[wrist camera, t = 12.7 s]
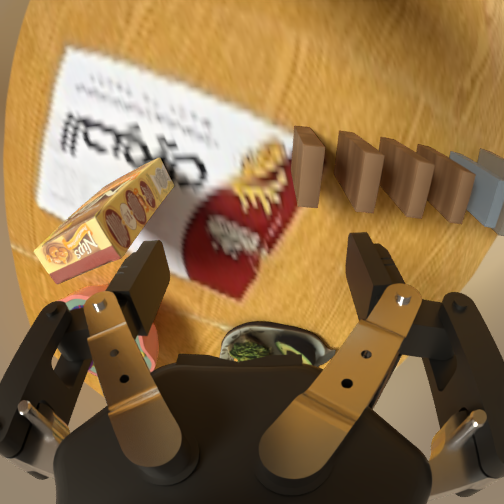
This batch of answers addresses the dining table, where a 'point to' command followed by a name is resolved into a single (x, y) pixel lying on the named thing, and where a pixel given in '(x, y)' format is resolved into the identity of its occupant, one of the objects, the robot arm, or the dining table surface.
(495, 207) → the slate domino
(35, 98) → the dining table surface
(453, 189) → the walnut domino
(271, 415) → the robot arm
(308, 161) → the walnut domino
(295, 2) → the dining table surface
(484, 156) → the block
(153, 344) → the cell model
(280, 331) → the salad plate
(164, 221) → the dining table surface
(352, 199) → the walnut domino
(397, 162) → the walnut domino
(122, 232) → the candy box
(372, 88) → the dining table surface
